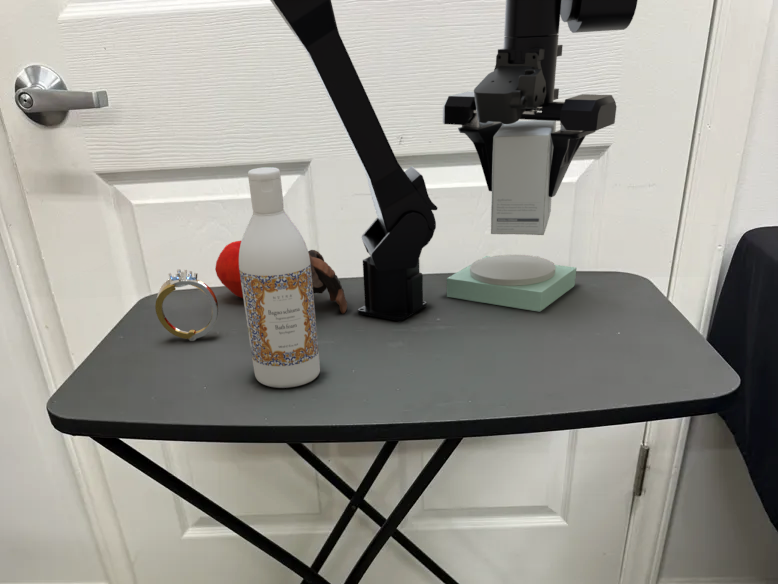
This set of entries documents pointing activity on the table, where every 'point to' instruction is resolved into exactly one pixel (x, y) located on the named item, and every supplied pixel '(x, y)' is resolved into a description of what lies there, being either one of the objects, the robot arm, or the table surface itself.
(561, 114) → the robot arm
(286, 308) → the bath foam
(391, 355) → the table surface
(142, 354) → the table surface
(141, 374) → the table surface
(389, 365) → the table surface
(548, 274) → the scale
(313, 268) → the brown curved piece
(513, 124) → the cosmetics box
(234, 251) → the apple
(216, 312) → the ring
